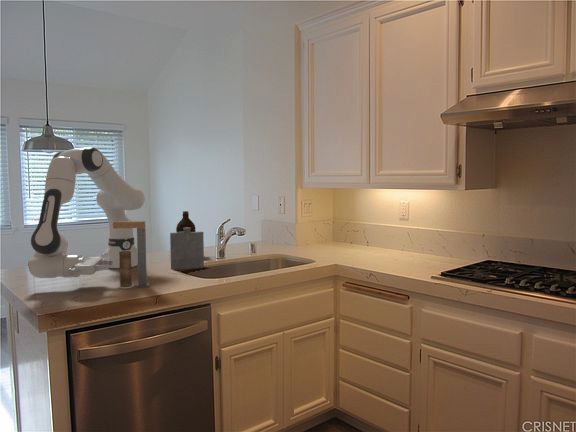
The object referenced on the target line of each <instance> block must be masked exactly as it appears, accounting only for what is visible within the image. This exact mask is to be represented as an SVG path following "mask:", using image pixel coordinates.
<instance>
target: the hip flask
mask: <svg viewBox="0 0 576 432" xmlns="http://www.w3.org/2000/svg"><path fill="white" fill-rule="evenodd" d="M190 229H191V228H189V227H186V228H183V230H184V232H177V233H176V232H170V233H169V239H170V241H169V244H170V247H169V248H170V249H169V250H170V270H190V269H191V270H193V269H203V268H204V267H205V262H204V261H205V259H204V258H205V257H204V256H205V254H204V253H205V252H204V251H205V250H204V247H205V245H204V244H205V242H204V231H195V232H190Z"/></svg>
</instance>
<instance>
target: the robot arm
mask: <svg viewBox="0 0 576 432" xmlns="http://www.w3.org/2000/svg"><path fill="white" fill-rule="evenodd" d="M82 174H87V175H88V176H89V178H90V180H91V181H92V182H93V183H94V184H95V186H96V187H97V189H99V191H97V194H96V197H95V200H96V203H97V205H98V207H100V208H101V209H102V210H103V211H104V213H105V216H106V218H107V222H108V227H109V238H108V242H107V243H108V245H107V248H106V249H105V251H104V252H103V253H101V256H96V255H95V256H93V255H89V256H88V255H83V254H67V252H68V240H67V239H66V237H64V235H62V234H60V232H59V229H58V222H59V218H60V213H61V212H60V210H61V209H62V206H63V205H65V204H67V203H70V202H71V200H72V199H73V197H74V194H75V189H76V180H77V179H76V178H77V176H76V175H82ZM43 195H44V196H43V200H42V206H41V210H40V214H39V215H40V216H39V220H38V224H37V226H36V228H35V229H34V231H33V233H32V234H31V238H30V244H31V247H32V248H33V249H32V250H34V251H35V252H34V254H33V255H32V256H31V257H30V258H29V259H28V261H27V262H28V264H27V266H28V271H29V273H30V275H32V277H35V278H38V279H56V278H79V277H80V276H81V275H82V276H88V275H89V276H91V275H94V274H96V273H97V272H99V271H100V272H101V271H105V270H106V271H108V270H109V269H120V261H119V252H120V251H131V268H134V267H138V252H137V247H136V246H135V241H136V240H135V237H134V228H113V222H116V221H132V219H130V218H129V217H128V216H127V214H126V212H125V211H134V210H140V209H141V208H143V207H144V203H145V200H146V199H145V198H146V197H145V195H144V193H143V191H142V190H140V189H139V188H136V187H135V186H133V185H131V183H128V182H127V181H126V180H125V179H123V178H122V177H121V176H120V174H118V172H117V171H116V169H115V168H114V166H113V165H112V164H111V163H110V161H109V160H108V158H107V157H106V156H105V154H103V153H102V151H100V150H99V149H97V148H96V147H92V146H86V147H77V148H76V147H75V148H73V149H66V150H62V151H61V150H60V151H59V152H56V153H55V154H54V155H53V157H52V159H51V160H50V163H49V165H48V169H47V173H46V177H45V183H44V194H43Z"/></svg>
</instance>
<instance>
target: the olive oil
mask: <svg viewBox="0 0 576 432" xmlns="http://www.w3.org/2000/svg"><path fill="white" fill-rule="evenodd" d="M186 227H189V228H191V229H190V232H196V225H195V223H194V222H193V221H192V220H191V219H190V217H189V210H188V211H186V210H182V218H181V219H180V220H179V222H177V224H176V228H175V233H177V232H184V230H183V228H186Z"/></svg>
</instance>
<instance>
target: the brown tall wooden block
mask: <svg viewBox="0 0 576 432" xmlns="http://www.w3.org/2000/svg"><path fill="white" fill-rule="evenodd" d="M119 261H120V268H119V285H120V287H130V286H132V284H133V282H132V281H133V280H132V267H131V251H120V252H119Z"/></svg>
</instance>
